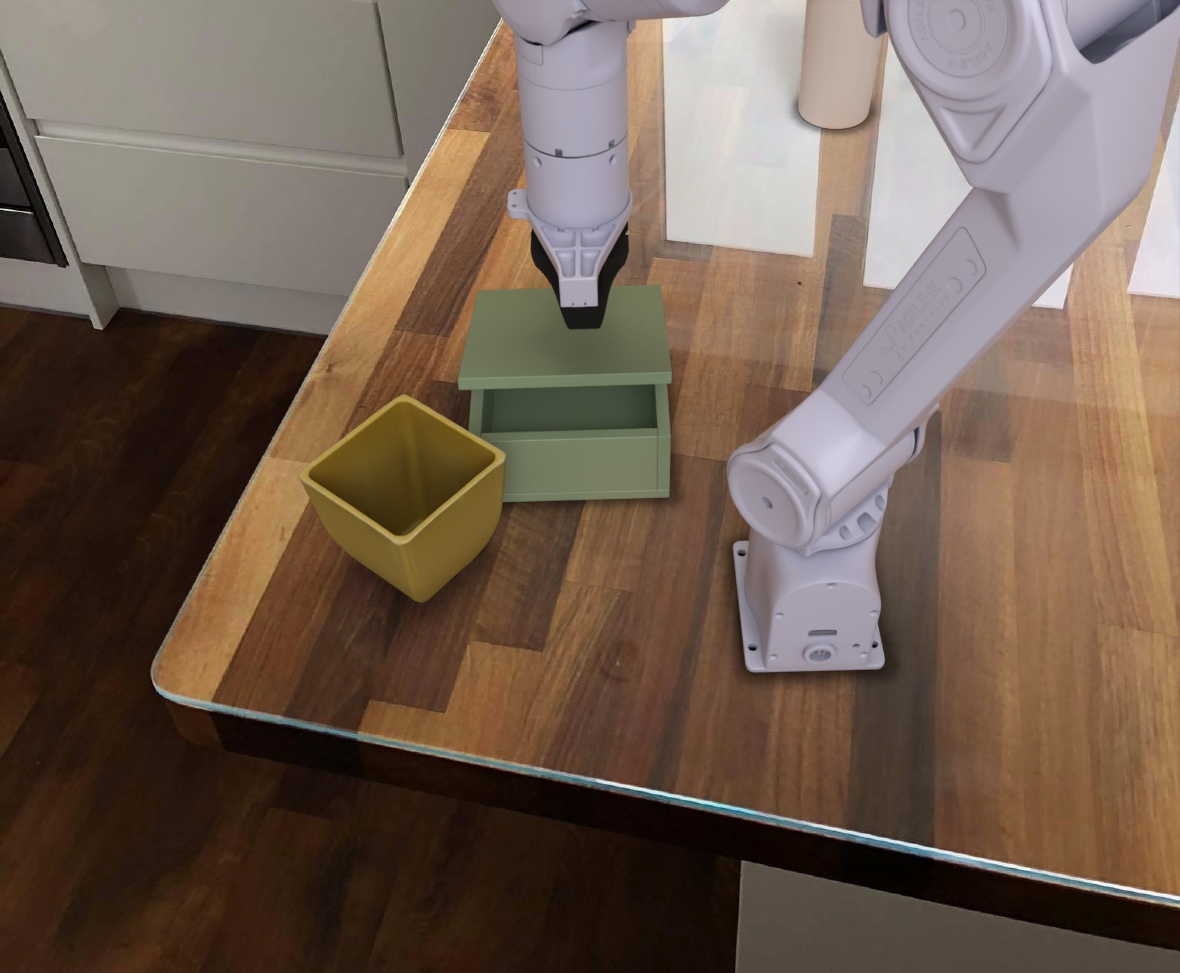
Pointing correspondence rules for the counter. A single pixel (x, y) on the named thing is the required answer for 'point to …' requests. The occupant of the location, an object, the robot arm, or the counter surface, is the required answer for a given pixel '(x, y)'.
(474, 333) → the bread lid
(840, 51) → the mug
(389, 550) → the flower pot
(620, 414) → the bread box
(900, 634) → the counter surface
